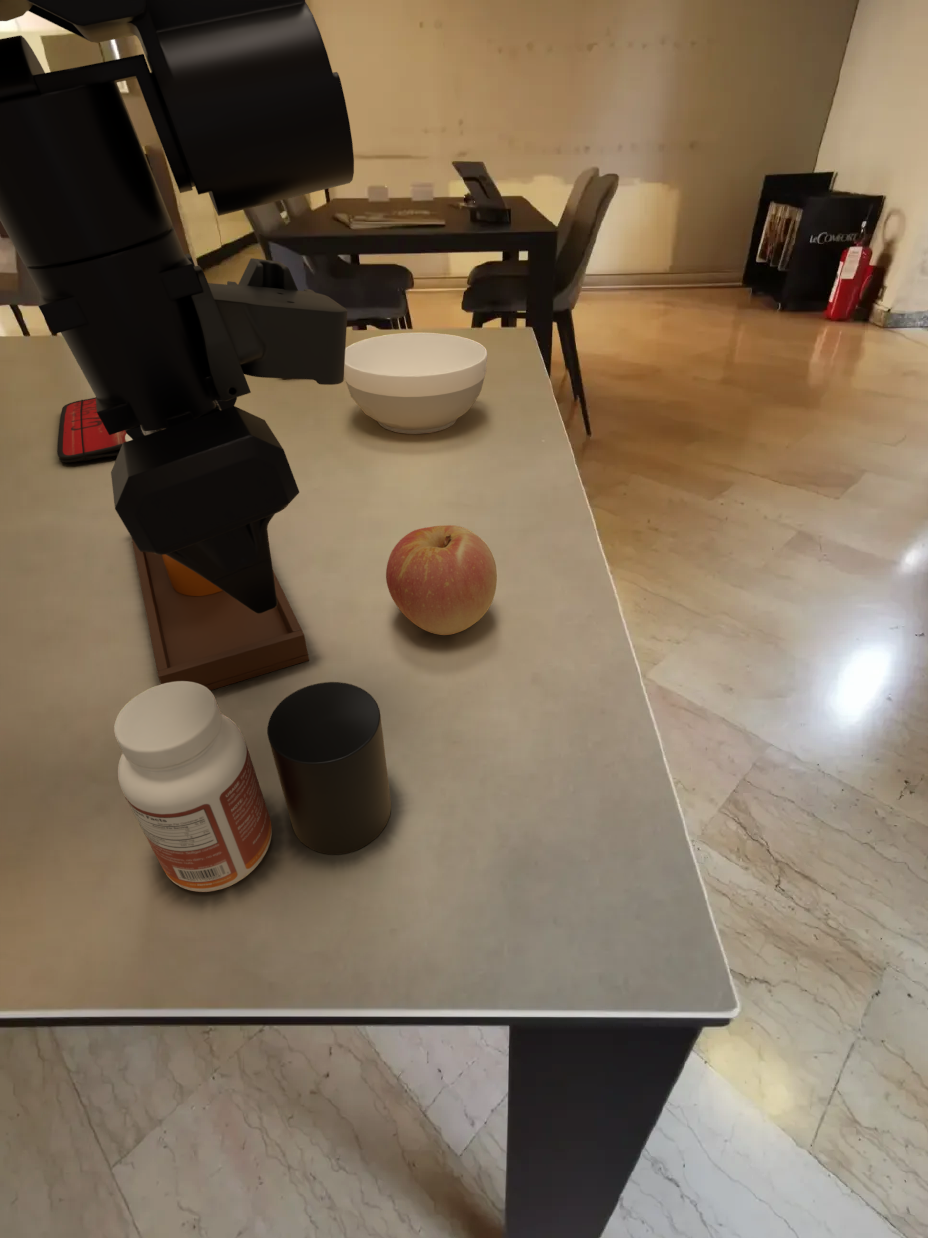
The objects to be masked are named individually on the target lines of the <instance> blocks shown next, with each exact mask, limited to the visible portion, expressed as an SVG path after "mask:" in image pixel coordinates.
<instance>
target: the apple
mask: <svg viewBox="0 0 928 1238" xmlns="http://www.w3.org/2000/svg"><path fill="white" fill-rule="evenodd" d="M387 560H388V561H387V562H386V563H387V564H386V568H385V570H386V571H385V581H386V586H387V589H388V592H389V595H390V597H391V599H392V601H393V602H394V604H395V605H396V607H397V608H398V610H399V611H400V612H401V613H402V614H403V615H404V617H406V618H407V619H408V620H409V621H410V622H411V623H413V624H414V625H415V626H417V627H419V628H420V629H421V630H423V631H425V632H428V633H431V634H434V635H438V636H439V635H440V636H449V635H454V634H458V633H460V632H463V631H465V630H467V629H469V628H470V627H472V626H473V625H474V624H476V623H477V622H479V621H480V620H481V619H482V618H483V616H484V615H485V614H486V613H487V612H488V610H489V608H490V607H491V606H492V603H493V601H494V598H495V595H496V591H497V582H498V571H497V564H496V560H495V557H494V555H493V552H492V550H491V549H490V547H489V545H488V544H487V543H486V541H484V540H483V539H482V537H480V536H479V535H478V534H476V533H474V532H473V531H471V530H470V529H468V528H466V527H463V526H460V525H451V524H450V525H449V524H448V525H447V524H446V525H444V524H443V525H434V526H428V527H422V528H418V529H414V530H412V531H410V532H409V533H407V534H405V535H404V536H403V537H402V538H401V539H399V541H398V542H397V543H396V544H395V546H394V547H393V549H392V550H391V552H390V554H389V557H388V559H387Z"/></svg>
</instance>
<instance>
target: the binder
mask: <svg viewBox="0 0 928 1238" xmlns="http://www.w3.org/2000/svg"><path fill="white" fill-rule="evenodd" d="M126 434H127V433H126V431H125V430H124V431H121V432H118V433H115V434H112V435H109V434H108V432H107V430H106V428H105V426H104V424H103V423H102V421H101V419H100V417H99V415H98V414H97V408H96V396H94V397H91V398H86V399H81V400H75V401H72V402H69V403H67V404H64V405H63V406H62V408H61V412H60V416H59V423H58V433H57V447H56V448H57V449H56V451H57V452H56V453H57V457H59V458H58V459H59V461H60V462H61V463H76V462H82V461H83V462H84V461H85V462H88V461H91V460H95V459H100V458H107V457H108V458H109V457H117V456H118V454H119V452H120V449H121V447H122V444H123V443H124V442H126V440H125V436H126Z"/></svg>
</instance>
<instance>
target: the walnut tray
mask: <svg viewBox="0 0 928 1238" xmlns="http://www.w3.org/2000/svg"><path fill="white" fill-rule="evenodd" d="M131 541H132V542H131V543H132V546H133V547H132V548H133V551H134V557H135V563H136V567H137V568H136V569H137V572H138V577H139V578H138V579H139V583H140V588H141V593H142V598H143V599H142V600H143V604H144V609H145V615H146V620H147V624H148V631H149V635H150V640H151V645H152V650H153V657H154V661H155V667H156V672H157V676H158V679H159V682H160V684H164V683H169V682H176V681H188V682H194V683H198V684H201V685H203V686H205V687H206V688H208V689H209V690H210V691H213V690H216V689H219V688H223V687H226V686H229V685H232V684H237V683H239V682H243V681H245V680H249V679H252V678H255V677H259V676H262V675H265V674H269V673H272V672H276V671H278V670H281V669H282V670H283V669H285V668H288V667H292V666H296V665H299V664H301V663H305V662H309V661H310V657H309V653H308V646H307V642H306V637H305V633H304V632H303V629H302V627H301V625H300V624H299V623H300V622H299V621H298V618H297V617H296V614H295V613H294V610H293V609H292V606H291V604H290V602H289V601H288V598H287V596H286V593H285V592H284V590H283V587H282V586H281V584H280V581H279V579H278V578H277V575H276V573H275V572H274V570H273V574H274V581H275V588H276V595H277V601H278V605H277V606H276V607H275V608H273V609H270V610H268V611H266V612H263V613H260V614H258V613H255V612H254V611H252V610H251V609H249V608H248V607H246V606H245V605H243V604H242V603H240V602H239V601H238V600H236V599H235V598H233V597H232V596H230V595H229V594H227V593H226V592H224V591H220V592H218V593H214V594H210V595H205V596H188V595H184V594H181V593H179V592H177V591H176V590H175V589H174V588H173V587H172V584H171V581H170V578H169V575H168V572H167V569H166V566H165V563H164V560H163V557H162V555H157V554H155V553H152V552H141V551H140V550H139V549H138V547H137V545H136V544H135V542H134V540H133V539H132V538H131Z"/></svg>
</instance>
